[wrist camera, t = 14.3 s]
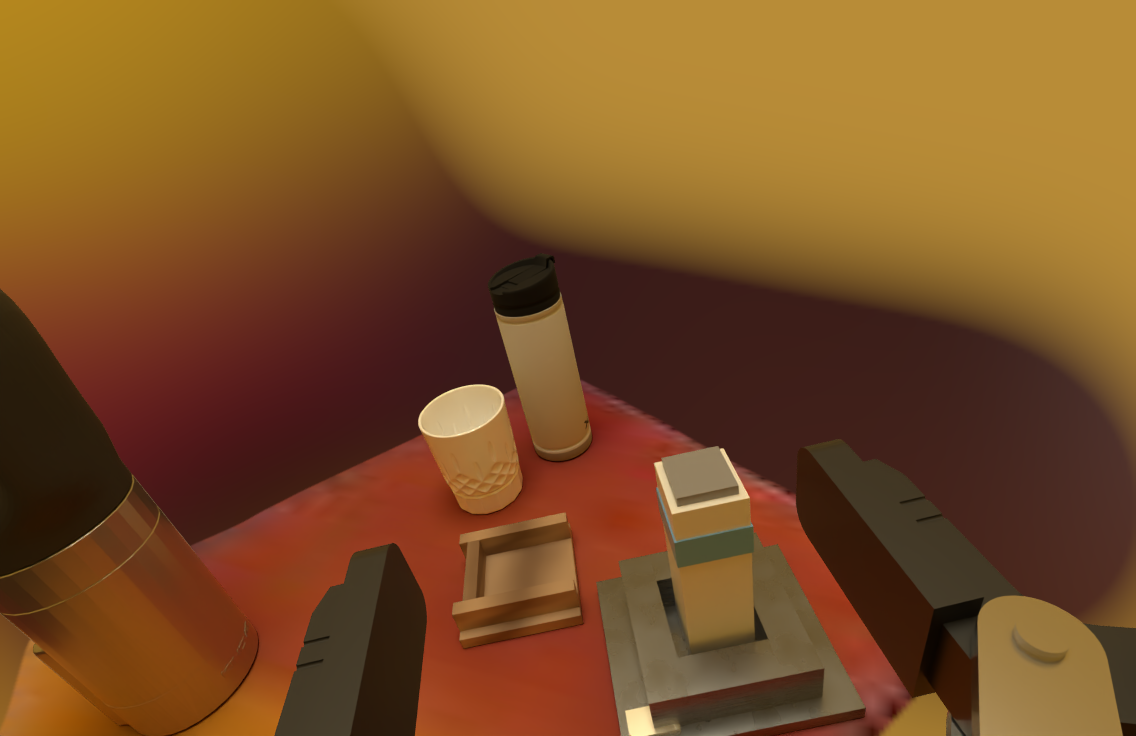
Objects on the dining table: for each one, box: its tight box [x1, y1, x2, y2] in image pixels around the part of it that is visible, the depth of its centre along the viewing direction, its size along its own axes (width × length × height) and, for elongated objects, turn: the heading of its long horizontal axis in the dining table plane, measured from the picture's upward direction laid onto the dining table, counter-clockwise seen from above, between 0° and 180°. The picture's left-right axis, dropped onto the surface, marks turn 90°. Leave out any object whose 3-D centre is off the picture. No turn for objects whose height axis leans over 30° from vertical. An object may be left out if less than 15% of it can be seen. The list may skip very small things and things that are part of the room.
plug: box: [654, 446, 755, 655], centre depth 33 cm, size 4×4×15 cm
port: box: [596, 533, 866, 736], centre depth 36 cm, size 14×12×4 cm
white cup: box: [418, 385, 523, 514], centre depth 52 cm, size 8×8×10 cm
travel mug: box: [488, 253, 592, 461], centre depth 54 cm, size 6×7×20 cm
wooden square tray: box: [452, 513, 583, 649], centre depth 44 cm, size 9×9×3 cm
